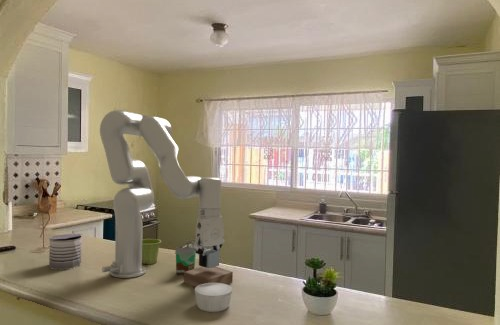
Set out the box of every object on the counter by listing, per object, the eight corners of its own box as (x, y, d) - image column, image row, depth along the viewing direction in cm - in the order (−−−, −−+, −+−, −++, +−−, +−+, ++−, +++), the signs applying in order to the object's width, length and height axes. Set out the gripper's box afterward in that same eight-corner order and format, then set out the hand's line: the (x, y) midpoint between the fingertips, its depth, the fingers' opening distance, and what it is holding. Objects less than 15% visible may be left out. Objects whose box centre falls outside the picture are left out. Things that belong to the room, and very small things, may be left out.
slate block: (208, 268, 128) (208, 253, 128) (198, 265, 131) (199, 251, 131) (219, 265, 132) (219, 251, 131) (209, 262, 135) (209, 248, 135)
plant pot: (133, 261, 154) (133, 240, 153) (155, 258, 159) (155, 237, 159) (142, 267, 146) (142, 245, 146) (164, 263, 152) (165, 242, 152)
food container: (190, 277, 136) (191, 249, 136) (174, 275, 137) (175, 248, 137) (201, 267, 148) (202, 242, 148) (186, 265, 149) (187, 240, 149)
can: (57, 272, 138) (58, 239, 138) (43, 265, 145) (43, 234, 145) (87, 265, 147) (87, 234, 147) (72, 259, 154) (72, 230, 154)
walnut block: (207, 292, 123) (207, 280, 123) (183, 283, 131) (183, 271, 131) (232, 283, 132) (232, 271, 132) (208, 275, 140) (209, 264, 140)
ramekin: (213, 296, 119) (213, 279, 119) (239, 305, 112) (240, 288, 112) (186, 306, 110) (186, 288, 110) (213, 317, 103) (213, 298, 103)
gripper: (198, 216, 122) (197, 272, 122) (234, 211, 135) (233, 261, 135) (183, 214, 127) (182, 267, 127) (219, 209, 140) (218, 257, 140)
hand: (208, 264), depth 131 cm, fingers closed on slate block, 5 cm apart
